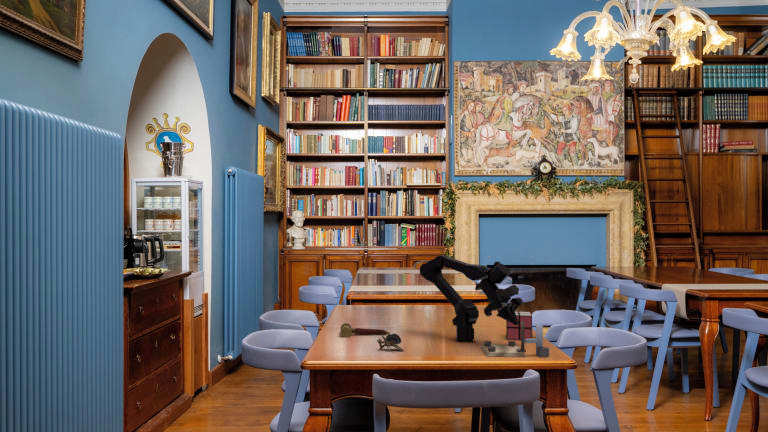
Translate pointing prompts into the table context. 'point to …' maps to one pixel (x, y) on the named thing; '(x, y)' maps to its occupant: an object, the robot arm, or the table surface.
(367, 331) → the gavel
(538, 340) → the folding leg
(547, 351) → the corner bracket
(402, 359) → the table surface
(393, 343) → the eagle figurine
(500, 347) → the stool seat
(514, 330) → the puzzle cube
